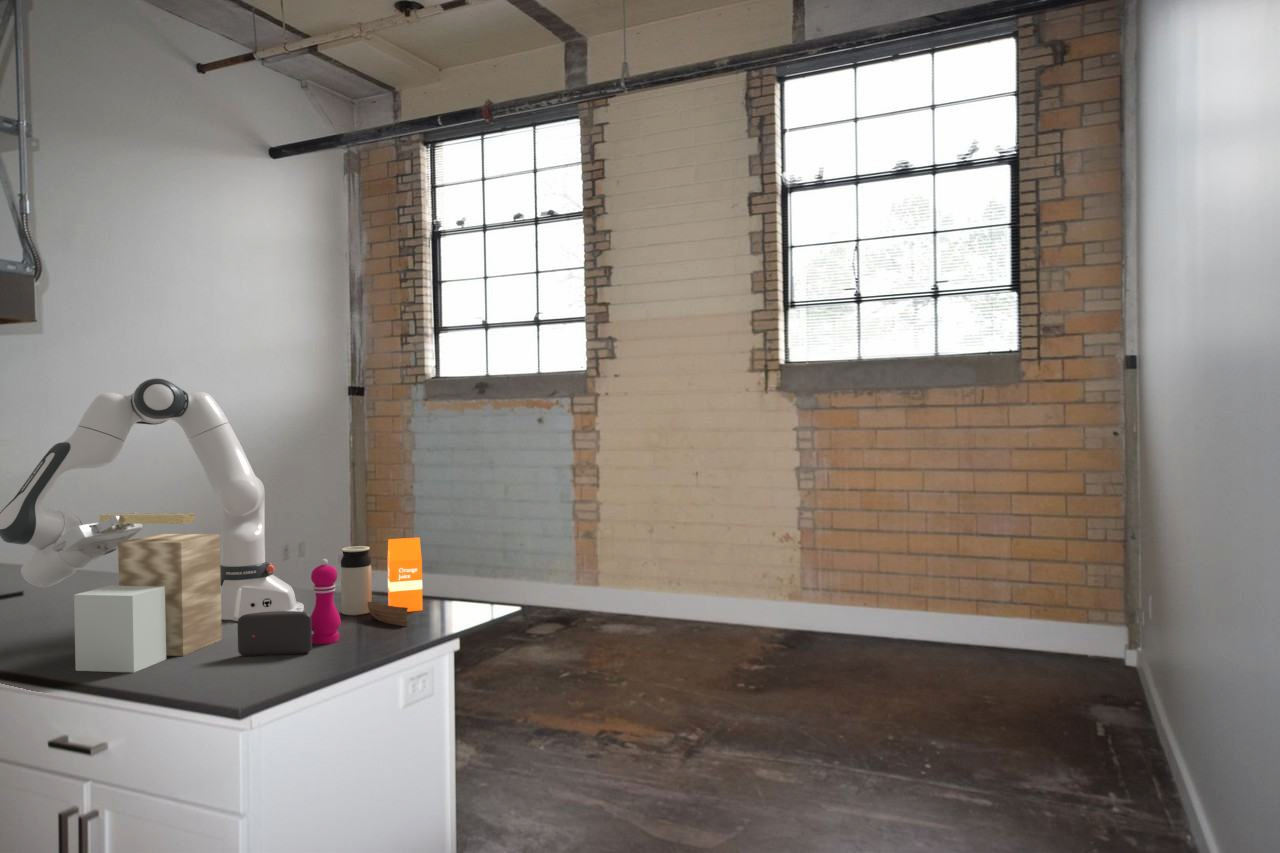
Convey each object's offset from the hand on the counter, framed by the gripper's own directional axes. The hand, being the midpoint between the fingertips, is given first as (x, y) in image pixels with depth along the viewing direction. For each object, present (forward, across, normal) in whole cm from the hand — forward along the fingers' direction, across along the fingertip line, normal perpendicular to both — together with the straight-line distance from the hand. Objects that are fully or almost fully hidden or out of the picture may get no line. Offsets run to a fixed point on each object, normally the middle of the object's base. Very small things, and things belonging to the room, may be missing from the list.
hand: (127, 516), depth 205 cm
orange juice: (+28, +44, +53) cm, 74 cm away
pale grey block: (-7, -15, +32) cm, 36 cm away
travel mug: (+18, +38, +47) cm, 63 cm away
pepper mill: (+24, +8, +50) cm, 56 cm away
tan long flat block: (+4, 0, +4) cm, 5 cm away
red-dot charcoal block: (+19, -4, +47) cm, 51 cm away
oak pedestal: (-6, 0, +32) cm, 33 cm away
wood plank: (+30, +28, +54) cm, 68 cm away
